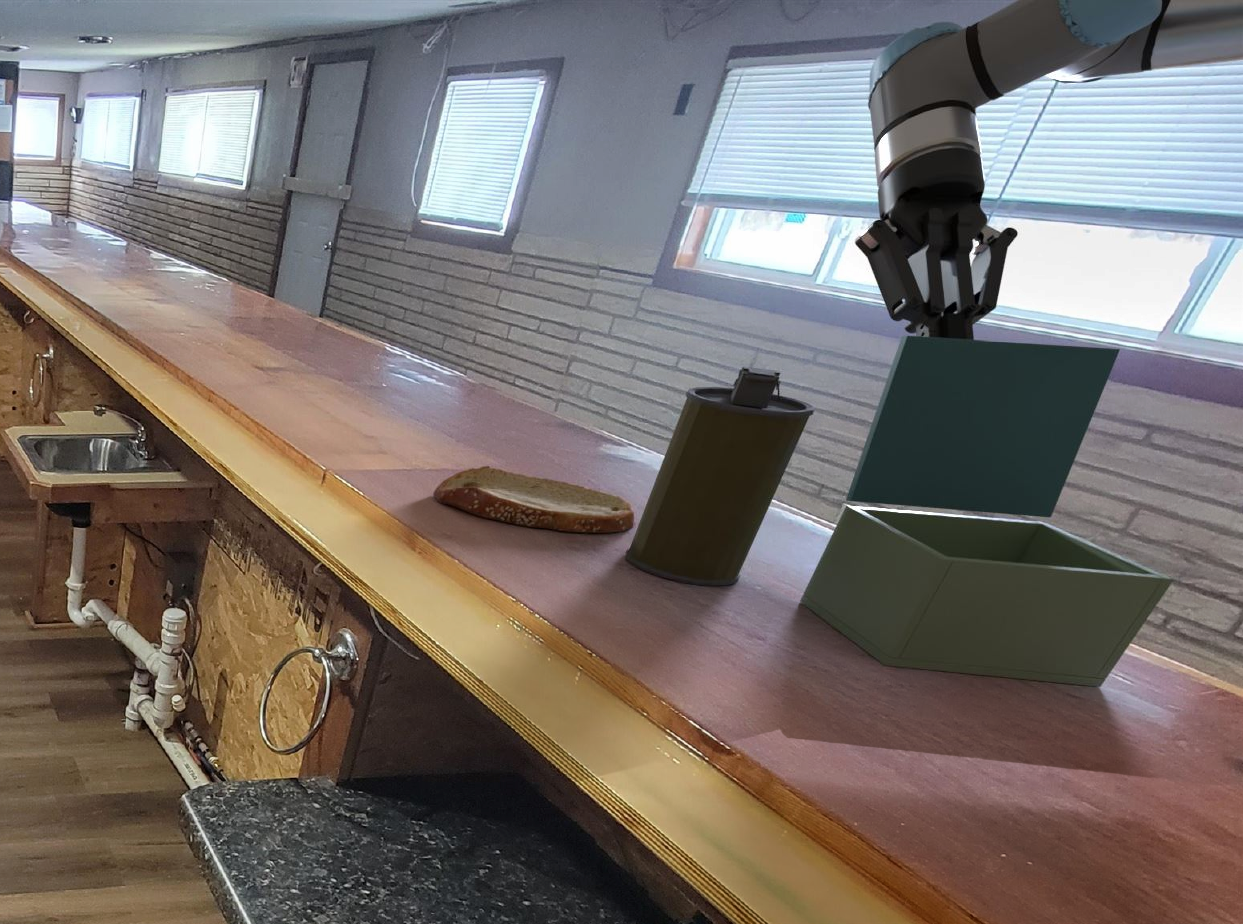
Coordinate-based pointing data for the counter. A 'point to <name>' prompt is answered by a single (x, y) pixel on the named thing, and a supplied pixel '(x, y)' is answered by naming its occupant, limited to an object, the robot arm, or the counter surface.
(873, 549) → the box
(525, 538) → the counter surface
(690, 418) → the canister
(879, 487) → the lid
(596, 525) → the bread slice
